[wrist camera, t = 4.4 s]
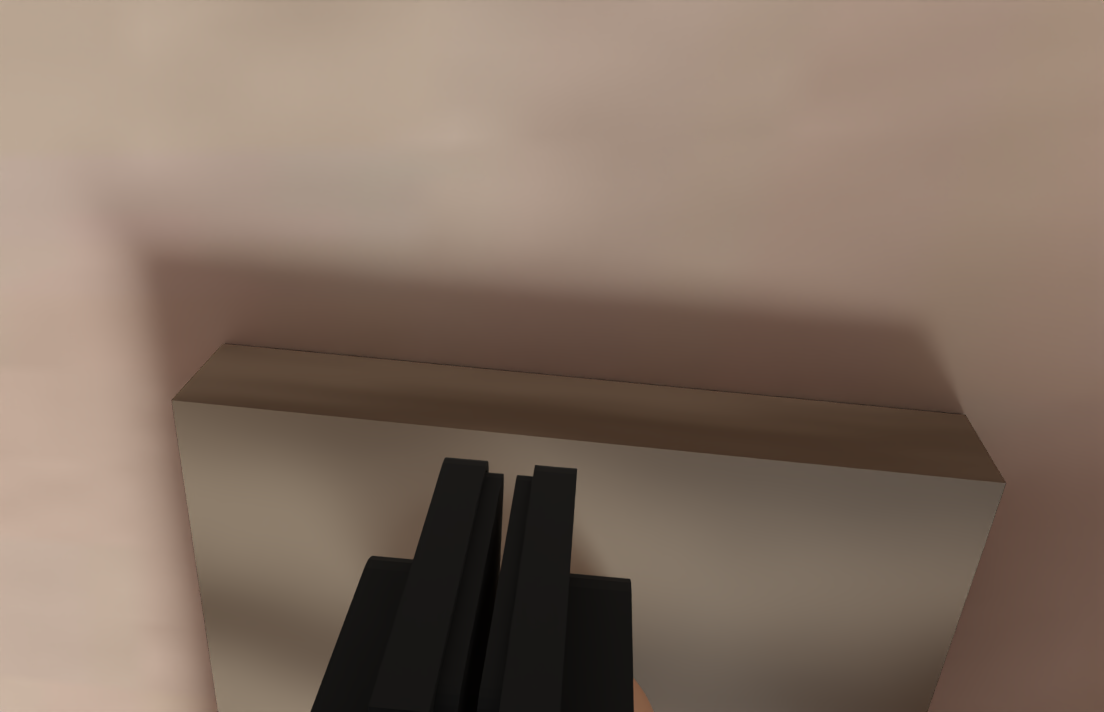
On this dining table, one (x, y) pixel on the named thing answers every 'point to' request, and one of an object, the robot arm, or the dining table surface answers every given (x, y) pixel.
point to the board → (592, 521)
